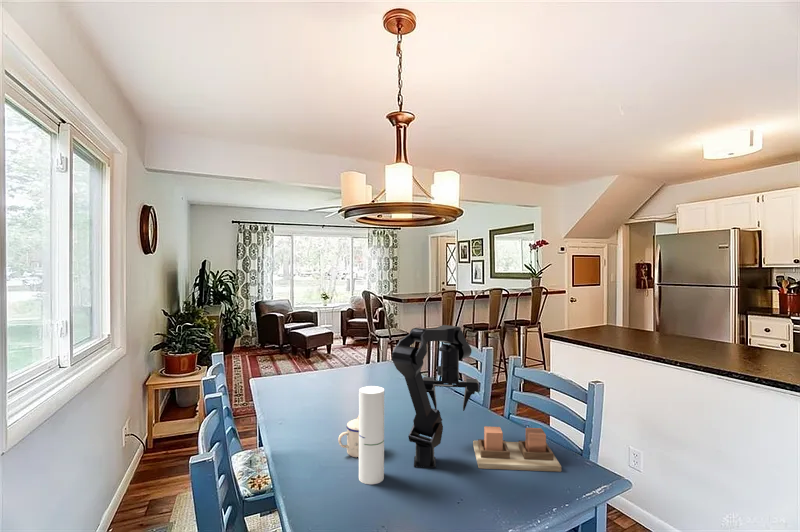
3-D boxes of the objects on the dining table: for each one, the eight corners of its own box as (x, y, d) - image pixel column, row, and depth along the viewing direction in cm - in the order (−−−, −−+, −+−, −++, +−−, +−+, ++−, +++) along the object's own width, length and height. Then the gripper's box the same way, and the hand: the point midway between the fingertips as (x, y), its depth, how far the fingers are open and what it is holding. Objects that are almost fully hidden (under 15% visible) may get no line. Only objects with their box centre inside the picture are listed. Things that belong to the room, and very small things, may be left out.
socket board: (561, 471, 122) (561, 442, 122) (478, 468, 124) (478, 439, 123) (546, 447, 138) (546, 422, 138) (473, 444, 139) (473, 419, 139)
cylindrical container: (370, 468, 123) (371, 384, 123) (389, 476, 118) (389, 389, 118) (353, 478, 117) (353, 390, 117) (371, 487, 113) (372, 395, 113)
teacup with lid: (368, 443, 140) (368, 409, 140) (379, 454, 132) (379, 418, 132) (333, 450, 135) (334, 415, 135) (343, 462, 126) (343, 424, 126)
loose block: (502, 455, 128) (502, 433, 128) (486, 455, 129) (486, 432, 129) (499, 448, 133) (499, 426, 133) (484, 448, 134) (484, 426, 134)
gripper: (476, 358, 146) (476, 403, 146) (423, 357, 148) (423, 400, 148) (479, 366, 135) (478, 414, 135) (421, 364, 137) (421, 411, 137)
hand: (449, 409), depth 139 cm, fingers open, 9 cm apart
